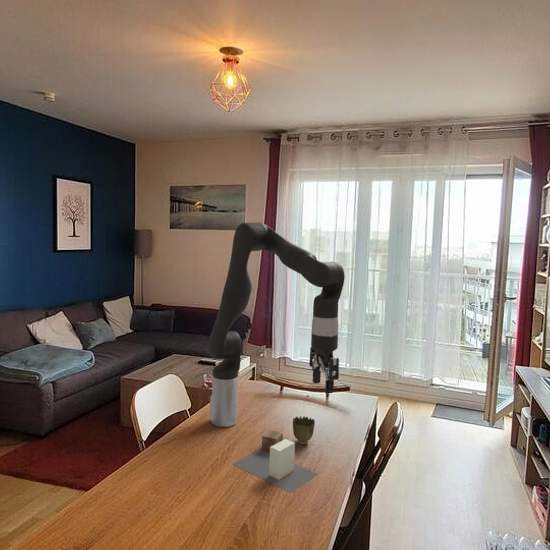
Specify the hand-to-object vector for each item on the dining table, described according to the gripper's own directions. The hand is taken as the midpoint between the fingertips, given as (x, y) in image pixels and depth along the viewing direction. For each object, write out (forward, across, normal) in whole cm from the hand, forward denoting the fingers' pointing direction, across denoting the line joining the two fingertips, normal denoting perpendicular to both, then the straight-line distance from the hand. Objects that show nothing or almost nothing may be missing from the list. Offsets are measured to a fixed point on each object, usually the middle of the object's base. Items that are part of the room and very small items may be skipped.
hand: (322, 387), depth 130 cm
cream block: (+25, -2, -11) cm, 27 cm away
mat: (+25, -5, -12) cm, 29 cm away
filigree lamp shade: (+26, -19, +3) cm, 32 cm away
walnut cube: (+26, -18, -8) cm, 32 cm away
